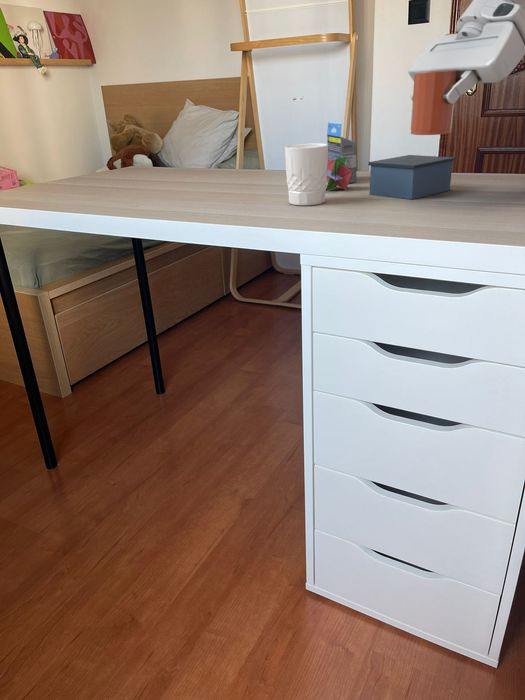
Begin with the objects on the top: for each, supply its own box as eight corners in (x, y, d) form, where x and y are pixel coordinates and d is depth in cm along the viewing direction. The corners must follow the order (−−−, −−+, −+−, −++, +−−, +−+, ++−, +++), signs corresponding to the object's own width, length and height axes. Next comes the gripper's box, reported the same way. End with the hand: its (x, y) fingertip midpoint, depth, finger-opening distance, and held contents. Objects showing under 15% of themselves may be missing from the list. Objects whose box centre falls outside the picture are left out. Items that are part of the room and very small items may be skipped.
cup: (425, 130, 92) (430, 72, 88) (458, 131, 87) (465, 70, 83) (402, 134, 88) (406, 73, 84) (435, 135, 84) (441, 71, 80)
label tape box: (357, 183, 116) (358, 122, 111) (339, 184, 115) (340, 123, 110) (342, 177, 124) (343, 121, 118) (326, 179, 123) (326, 122, 118)
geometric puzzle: (367, 177, 108) (347, 144, 108) (349, 182, 103) (329, 147, 103) (342, 197, 113) (323, 165, 113) (325, 203, 108) (305, 169, 108)
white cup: (335, 203, 97) (336, 145, 92) (296, 208, 94) (295, 148, 90) (316, 196, 103) (315, 142, 99) (279, 201, 101) (277, 146, 97)
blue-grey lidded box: (407, 185, 110) (409, 154, 107) (452, 190, 103) (455, 157, 100) (367, 194, 103) (368, 162, 101) (412, 200, 96) (414, 165, 93)
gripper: (432, 21, 91) (382, 87, 92) (529, 3, 74) (466, 84, 75) (450, 50, 94) (401, 113, 96) (546, 39, 77) (485, 116, 79)
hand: (430, 100), depth 85 cm, fingers closed on cup, 6 cm apart
